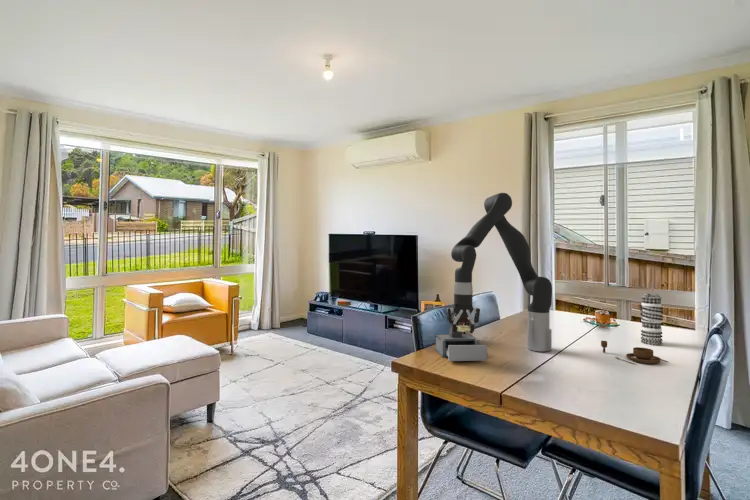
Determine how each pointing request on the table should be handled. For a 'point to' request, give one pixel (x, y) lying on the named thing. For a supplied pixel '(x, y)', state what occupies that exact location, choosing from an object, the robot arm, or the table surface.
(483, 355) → the grey drawer
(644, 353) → the place setting
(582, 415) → the table surface
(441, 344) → the grey drawer box
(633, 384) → the table surface
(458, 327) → the disc
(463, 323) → the brown tall lumpy piece
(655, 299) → the decorative candle
